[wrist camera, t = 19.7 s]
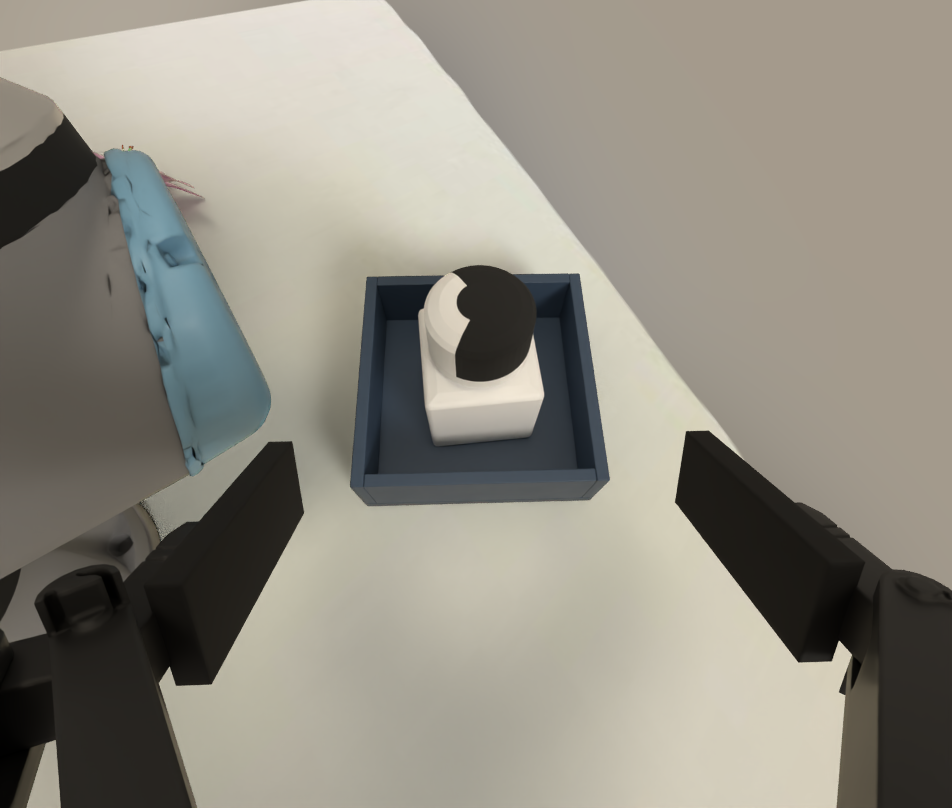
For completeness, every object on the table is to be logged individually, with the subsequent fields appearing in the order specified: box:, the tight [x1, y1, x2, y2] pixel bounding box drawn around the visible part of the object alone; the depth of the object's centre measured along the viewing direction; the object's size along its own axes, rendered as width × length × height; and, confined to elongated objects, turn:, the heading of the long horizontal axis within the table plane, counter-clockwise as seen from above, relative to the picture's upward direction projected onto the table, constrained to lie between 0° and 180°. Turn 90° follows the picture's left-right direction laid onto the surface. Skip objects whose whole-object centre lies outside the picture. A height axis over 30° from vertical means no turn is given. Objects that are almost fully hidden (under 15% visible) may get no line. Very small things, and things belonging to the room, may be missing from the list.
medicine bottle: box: [418, 265, 544, 446], centre depth 30 cm, size 7×7×12 cm
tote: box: [350, 274, 610, 506], centre depth 34 cm, size 16×16×5 cm
